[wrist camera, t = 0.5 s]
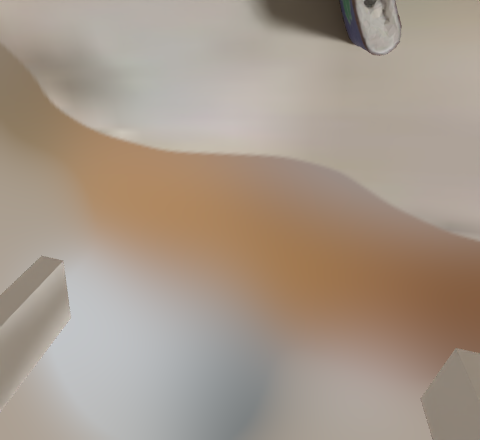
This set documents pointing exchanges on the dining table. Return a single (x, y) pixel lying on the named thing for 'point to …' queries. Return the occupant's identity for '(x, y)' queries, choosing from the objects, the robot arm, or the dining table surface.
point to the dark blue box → (372, 24)
